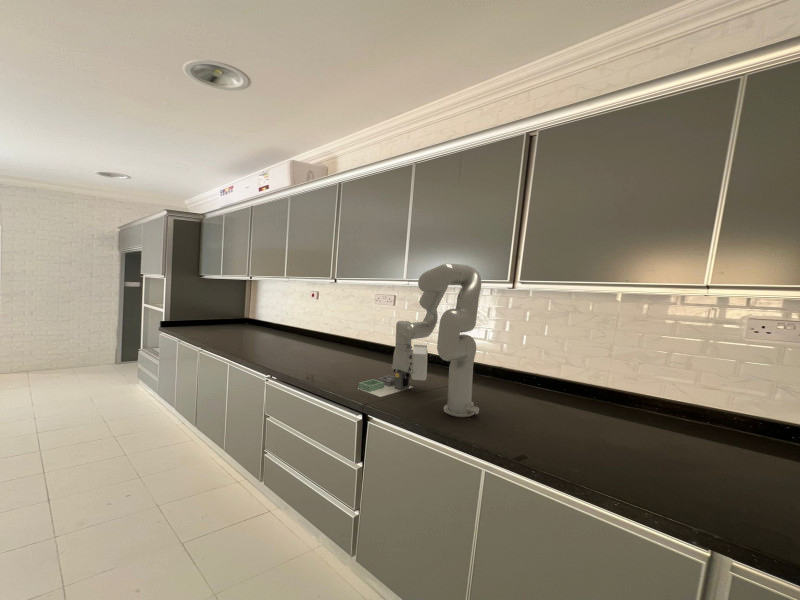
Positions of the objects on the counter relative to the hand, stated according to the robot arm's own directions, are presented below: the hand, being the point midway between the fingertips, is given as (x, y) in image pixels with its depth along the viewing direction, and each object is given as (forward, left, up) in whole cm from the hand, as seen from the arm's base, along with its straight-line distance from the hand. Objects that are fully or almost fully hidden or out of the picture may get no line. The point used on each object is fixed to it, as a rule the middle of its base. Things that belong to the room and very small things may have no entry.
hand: (402, 384), depth 168 cm
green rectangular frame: (+10, +11, -2) cm, 15 cm away
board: (+6, +5, -3) cm, 8 cm away
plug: (0, 0, -2) cm, 2 cm away
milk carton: (+6, -20, -3) cm, 21 cm away
